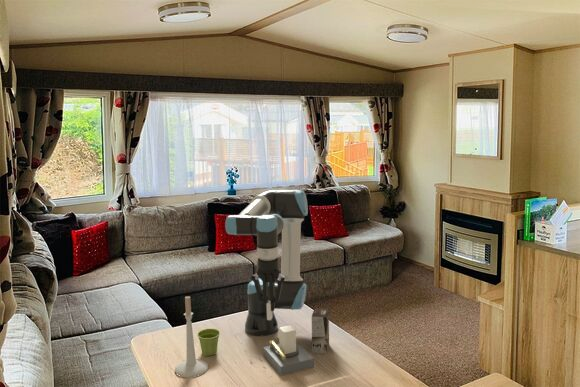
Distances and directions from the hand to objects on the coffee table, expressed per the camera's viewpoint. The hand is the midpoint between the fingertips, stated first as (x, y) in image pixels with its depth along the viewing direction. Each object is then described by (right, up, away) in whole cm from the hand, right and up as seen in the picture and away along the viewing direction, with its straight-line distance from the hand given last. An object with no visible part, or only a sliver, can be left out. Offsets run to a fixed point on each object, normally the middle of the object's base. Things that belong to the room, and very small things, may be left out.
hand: (269, 318), depth 183 cm
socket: (+7, -20, +12) cm, 25 cm away
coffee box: (+21, -19, +23) cm, 36 cm away
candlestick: (-31, -22, +8) cm, 39 cm away
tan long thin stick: (+3, -16, +10) cm, 19 cm away
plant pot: (-26, -20, +21) cm, 39 cm away
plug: (+7, -20, +12) cm, 24 cm away
